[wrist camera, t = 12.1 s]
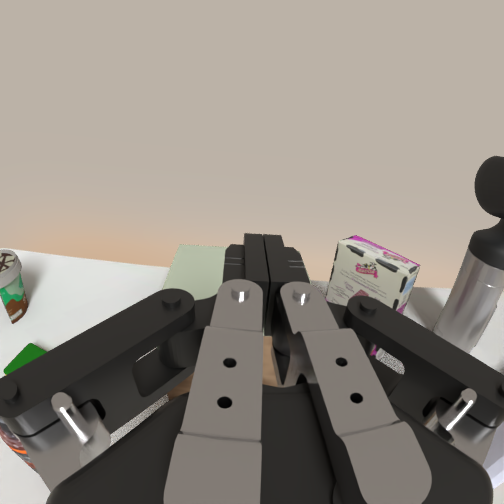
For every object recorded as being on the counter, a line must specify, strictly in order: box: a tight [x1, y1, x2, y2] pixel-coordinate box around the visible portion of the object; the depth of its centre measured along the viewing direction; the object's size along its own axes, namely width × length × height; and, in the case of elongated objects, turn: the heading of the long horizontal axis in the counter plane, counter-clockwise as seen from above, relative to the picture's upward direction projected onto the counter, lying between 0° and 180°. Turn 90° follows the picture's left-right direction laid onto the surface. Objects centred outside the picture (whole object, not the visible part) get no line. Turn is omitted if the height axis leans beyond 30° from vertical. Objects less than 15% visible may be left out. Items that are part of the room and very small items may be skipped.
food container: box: [0, 250, 28, 324], centre depth 40 cm, size 12×6×10 cm, turn 55°
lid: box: [162, 245, 312, 336], centre depth 35 cm, size 17×17×1 cm
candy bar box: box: [325, 235, 420, 360], centre depth 40 cm, size 11×5×16 cm, turn 39°
